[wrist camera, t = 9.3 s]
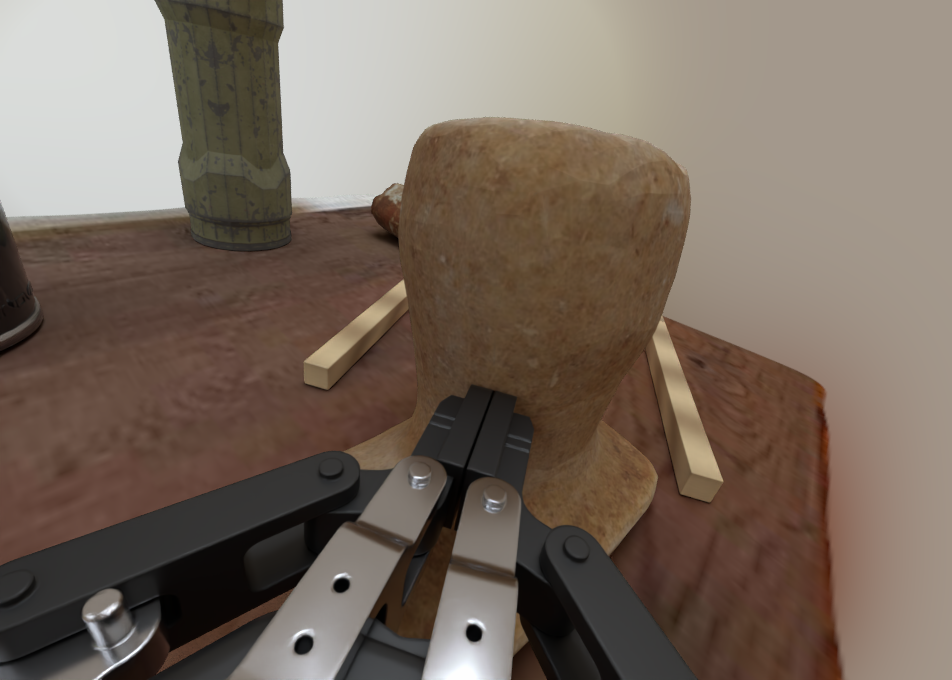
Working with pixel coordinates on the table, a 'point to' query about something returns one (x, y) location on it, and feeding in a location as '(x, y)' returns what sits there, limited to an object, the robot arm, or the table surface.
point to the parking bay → (671, 388)
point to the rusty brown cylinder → (388, 208)
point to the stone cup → (536, 307)
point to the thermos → (230, 120)
